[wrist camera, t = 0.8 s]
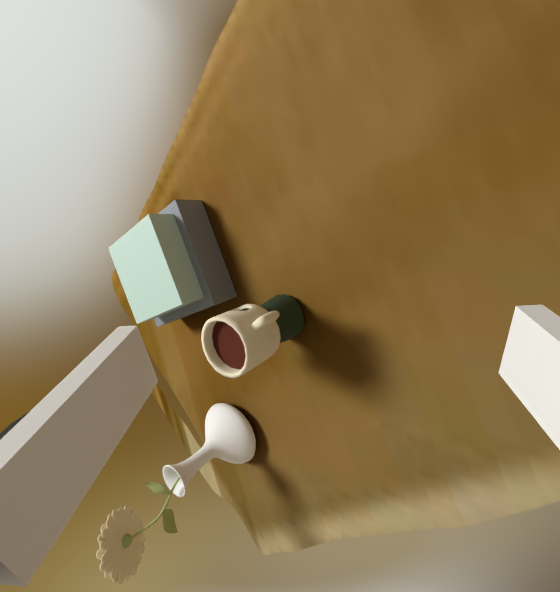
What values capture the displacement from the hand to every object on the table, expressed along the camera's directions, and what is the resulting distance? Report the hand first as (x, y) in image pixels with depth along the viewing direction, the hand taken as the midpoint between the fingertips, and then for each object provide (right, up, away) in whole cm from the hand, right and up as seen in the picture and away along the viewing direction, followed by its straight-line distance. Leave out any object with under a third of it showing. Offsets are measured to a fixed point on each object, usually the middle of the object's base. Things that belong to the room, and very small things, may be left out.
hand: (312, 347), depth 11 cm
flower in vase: (-9, -23, +45) cm, 51 cm away
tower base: (-17, +7, +42) cm, 45 cm away
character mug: (0, -1, +32) cm, 32 cm away
